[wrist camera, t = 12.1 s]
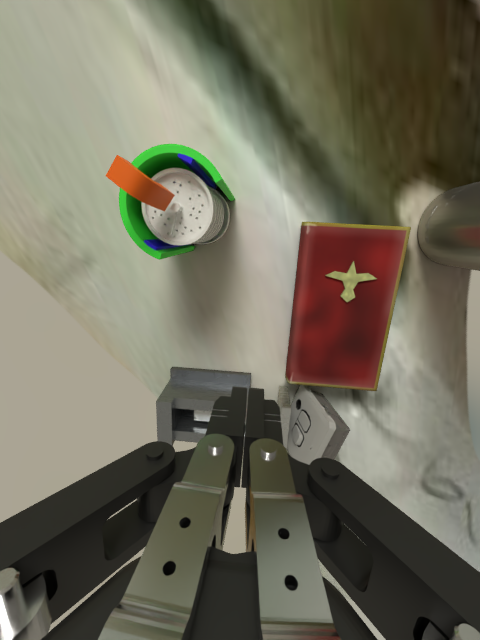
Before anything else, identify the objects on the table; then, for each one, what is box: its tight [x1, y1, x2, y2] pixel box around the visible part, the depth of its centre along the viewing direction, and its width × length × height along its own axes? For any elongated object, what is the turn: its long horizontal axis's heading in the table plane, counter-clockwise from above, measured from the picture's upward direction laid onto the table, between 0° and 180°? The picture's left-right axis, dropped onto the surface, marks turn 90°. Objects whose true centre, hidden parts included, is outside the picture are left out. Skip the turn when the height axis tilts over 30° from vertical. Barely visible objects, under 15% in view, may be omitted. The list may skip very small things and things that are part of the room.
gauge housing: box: [156, 367, 251, 447], centre depth 41 cm, size 12×10×7 cm
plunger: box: [194, 386, 291, 448], centre depth 40 cm, size 13×7×8 cm, turn 87°
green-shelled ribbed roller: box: [106, 144, 235, 260], centre depth 29 cm, size 9×8×18 cm
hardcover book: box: [285, 222, 411, 391], centre depth 38 cm, size 12×21×4 cm, turn 177°
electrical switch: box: [287, 385, 350, 465], centre depth 40 cm, size 9×5×9 cm, turn 161°
